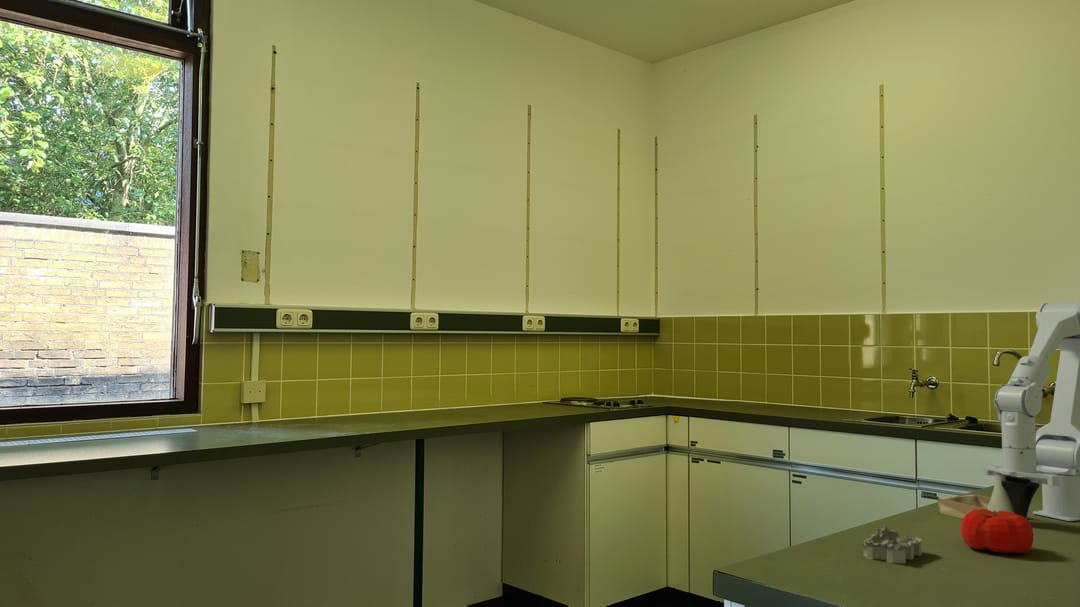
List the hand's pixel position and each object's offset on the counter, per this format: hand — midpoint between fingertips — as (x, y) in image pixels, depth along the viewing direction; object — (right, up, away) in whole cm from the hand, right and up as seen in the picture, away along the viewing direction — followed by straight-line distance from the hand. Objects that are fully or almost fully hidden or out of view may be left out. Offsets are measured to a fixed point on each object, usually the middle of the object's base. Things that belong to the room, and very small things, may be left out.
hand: (1021, 517), depth 156 cm
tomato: (-15, -1, -18) cm, 24 cm away
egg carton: (-34, -1, -21) cm, 40 cm away
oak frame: (-3, -2, +8) cm, 9 cm away
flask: (-1, -2, +3) cm, 4 cm away
